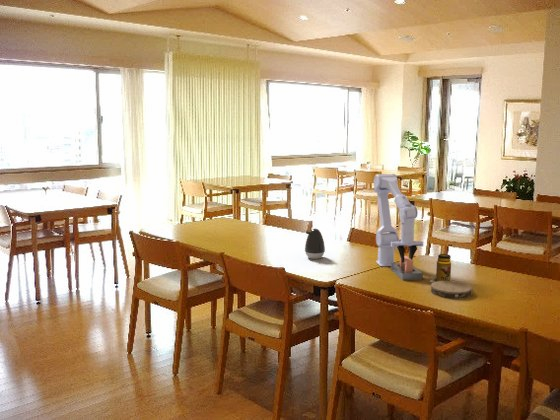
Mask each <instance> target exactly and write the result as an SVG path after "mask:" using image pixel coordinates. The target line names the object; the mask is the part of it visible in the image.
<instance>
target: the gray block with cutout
mask: <svg viewBox="0 0 560 420" xmlns="http://www.w3.org/2000/svg"><path fill="white" fill-rule="evenodd" d="M399 266H400V262H394V263H391V266H390V270H391V271H392V272H393V273H394V275H396V276H397V277H398V278H399V279H400V280H402V281H416V280H417V281H418V280H419V281H421V280H423V272H422V271H421V270H419V269H418V268H417V267H416V266H414V265H413V272H405V267H399Z"/></svg>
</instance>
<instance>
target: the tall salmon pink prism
mask: <svg viewBox="0 0 560 420" xmlns="http://www.w3.org/2000/svg"><path fill="white" fill-rule="evenodd" d="M399 263H400V266H399V267H405V272H413V266H414V260H413V259H412V260H411V259H410V258H409V256H407V255H404V262H401V257H400V256H399Z"/></svg>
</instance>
